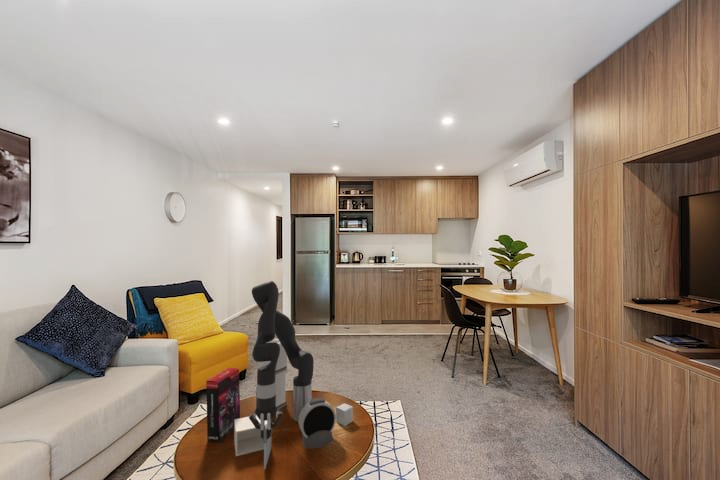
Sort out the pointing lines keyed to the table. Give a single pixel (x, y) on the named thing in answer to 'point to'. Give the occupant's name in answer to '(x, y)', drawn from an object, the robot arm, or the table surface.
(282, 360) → the grey square tower
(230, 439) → the table surface
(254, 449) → the carton
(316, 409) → the alarm clock
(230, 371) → the graphics card box
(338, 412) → the product box
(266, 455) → the grey flat panel
